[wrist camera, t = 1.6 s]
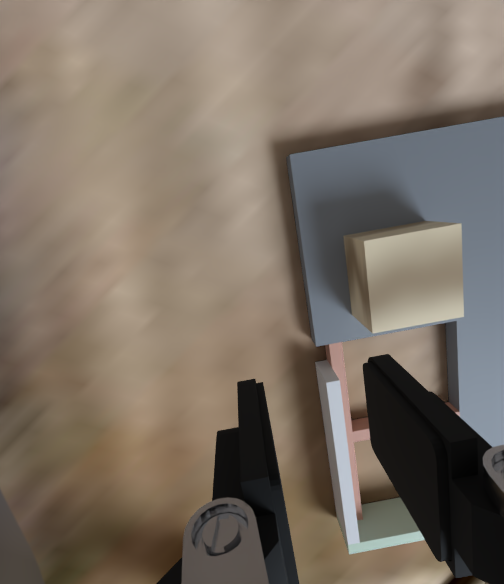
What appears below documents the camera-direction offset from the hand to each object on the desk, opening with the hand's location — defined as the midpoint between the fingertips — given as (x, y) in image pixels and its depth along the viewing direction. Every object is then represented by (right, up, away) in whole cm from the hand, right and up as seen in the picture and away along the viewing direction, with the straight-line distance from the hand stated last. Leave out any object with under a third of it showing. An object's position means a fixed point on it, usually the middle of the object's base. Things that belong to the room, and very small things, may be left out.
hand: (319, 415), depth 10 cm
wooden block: (+8, +5, +15) cm, 18 cm away
